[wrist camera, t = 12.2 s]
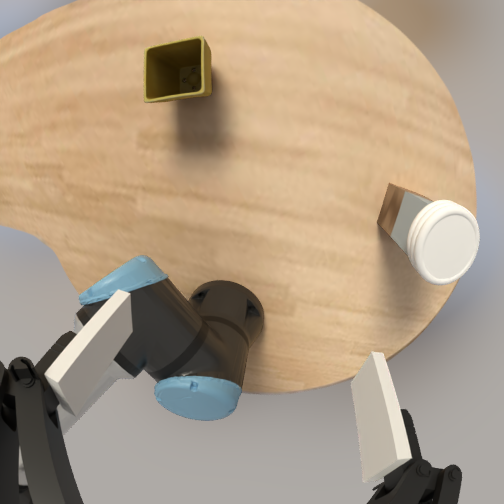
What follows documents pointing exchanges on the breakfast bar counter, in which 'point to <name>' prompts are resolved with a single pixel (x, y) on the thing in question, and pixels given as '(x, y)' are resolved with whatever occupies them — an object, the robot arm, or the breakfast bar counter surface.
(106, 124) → the breakfast bar counter surface
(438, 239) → the white round disc
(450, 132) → the breakfast bar counter surface
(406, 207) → the block top
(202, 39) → the flower pot
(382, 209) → the block bottom
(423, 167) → the breakfast bar counter surface
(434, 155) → the breakfast bar counter surface
